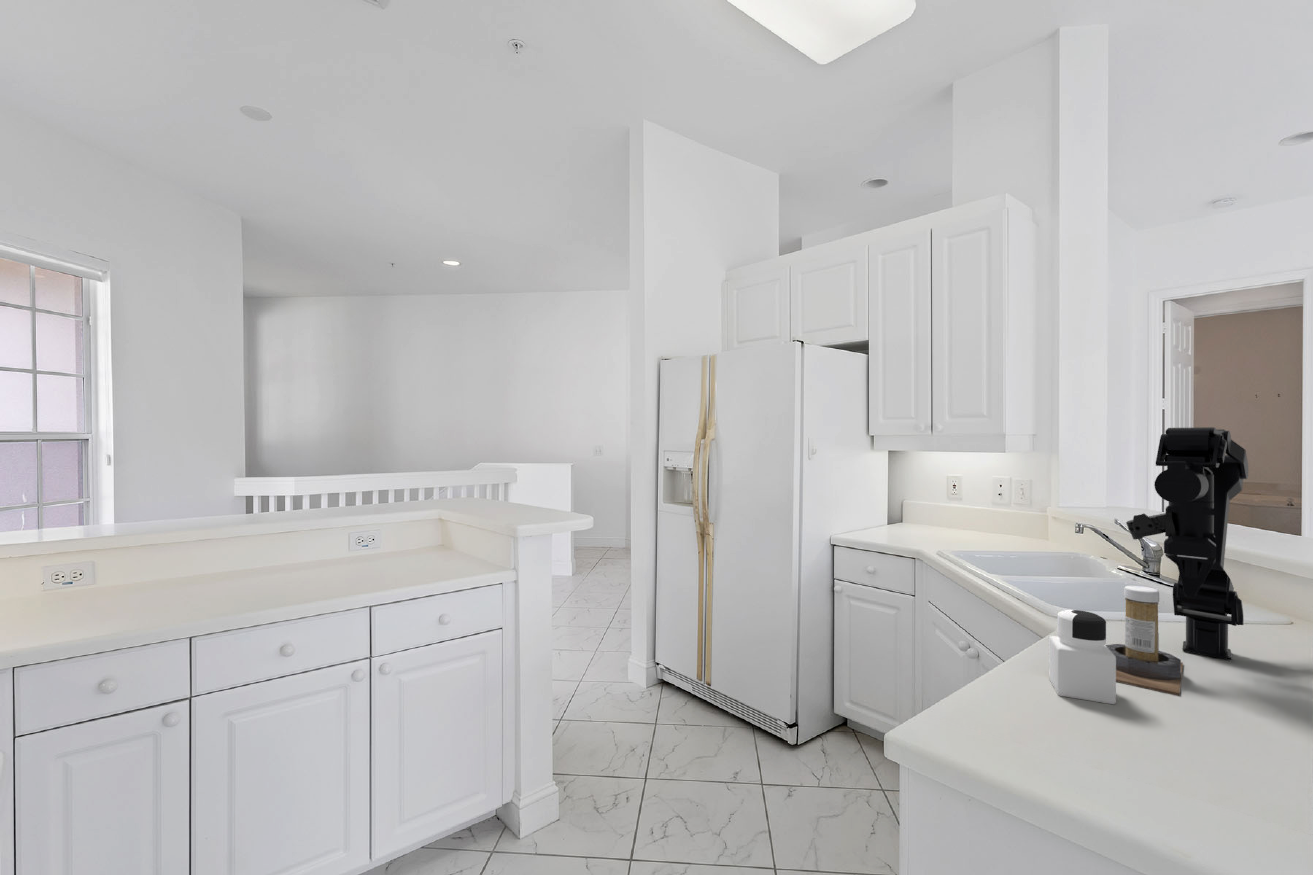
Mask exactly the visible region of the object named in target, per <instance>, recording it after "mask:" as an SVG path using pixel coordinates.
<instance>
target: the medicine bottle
mask: <svg viewBox="0 0 1313 875" xmlns="http://www.w3.org/2000/svg"><path fill="white" fill-rule="evenodd" d="M1056 622H1057V623H1056V624H1057V626H1056V627H1057V630H1056V633H1057V635H1050V636H1049V638H1048V639H1049V641H1048V642H1049V644H1048V646H1049V648H1048V649H1049V650H1048V651H1049V652H1048V655H1049V656H1048V659H1049V660H1048V661H1049V662H1048V669H1049V672H1048V673H1049V674H1048V676H1049V677H1048V678H1049V680H1050V682H1051V684H1052V686H1053V688H1054V690H1055V692H1056V694H1057V695H1058V696H1060V697H1064V698H1065V697H1067V698H1072V699H1079V700H1085V701H1089V702H1096V703H1097V702H1098V703H1102V704H1103V703H1104V704H1108V705H1109V704H1110V705H1115V704H1116V703H1117V697H1116V696H1117V695H1116V694H1117V682H1116V656H1115V655H1114V654H1113V653H1112V652H1111V651H1110V650H1109V649H1108V648H1107V647H1106V645H1107V621H1106V619H1105V618H1103V617H1102V616H1100V615H1099V614H1097V613H1095V612H1089V611H1086V610H1080V609H1079V610H1078V609H1065V610H1061V611H1059V612H1058V613H1057V621H1056Z"/></svg>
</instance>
